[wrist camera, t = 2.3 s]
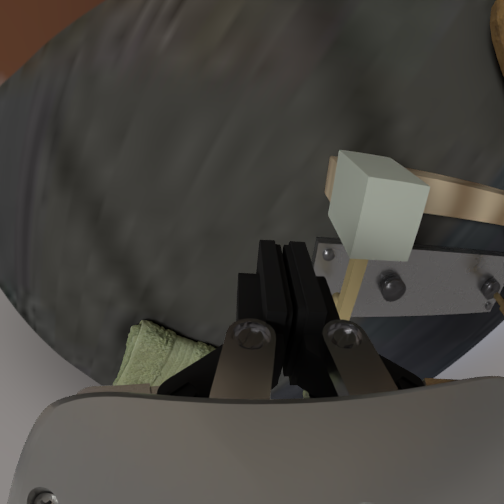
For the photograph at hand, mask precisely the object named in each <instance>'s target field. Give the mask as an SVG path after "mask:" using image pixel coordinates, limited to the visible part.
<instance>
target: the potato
mask: <svg viewBox="0 0 504 504" xmlns="http://www.w3.org/2000/svg"><path fill="white" fill-rule="evenodd" d="M490 28H491V36H492V42H493V46H494V49H495V52H496V56H497V59H498V62H499V65H500V68H501V71H502V74H503V77H504V0H496V1H495V3H494V5H493V6H492V9H491V18H490Z"/></svg>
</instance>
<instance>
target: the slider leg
mask: <svg viewBox="0 0 504 504" xmlns="http://www.w3.org/2000/svg"><path fill="white" fill-rule="evenodd" d="M429 190H430V186H429V185H428V184H426V183H425V182H424V181H422V180H421V179H420V178H418V177H417V176H416V175H414V174H413V173H411V172H410V171H409V170H407V169H406V168H404V167H403V166H402V165H400V164H399V163H397V162H396V161H394V160H393V159H391V158H389V157H383V156H377V155H371V154H365V153H359V152H352V151H345V150H339V154H338V160H337V166H336V173H335V179H334V184H333V190H332V196H331V201H330V207H329V212H328V216H329V218H330V220H331V222H332V224H333V226H334V228H335V230H336V232H337V234H338V236H339V238H340V240H341V242H342V244H343V246H344V248H345V250H346V252H347V254H348V256H349V258H350V259H349V263H348V267H347V271H346V274H345V278H344V282H343V285H342V289H341V292H340V293H339V292H335V293H334V294H333V295H332V297H333V300H334V303H335V306H336V308H337V311H338V314H339V317H340V320H348V321H349V319H350V316H351V313H352V310H353V307H354V304H355V301H356V298H357V295H358V292H359V289H360V286H361V283H362V280H363V277H364V273H365V270H366V267H367V263H368V260H386V261H405V262H408V259H409V256H410V253H411V250H412V247H413V244H414V241H415V238H416V235H417V232H418V228H419V225H420V222H421V219H422V215H423V212H424V208H425V205H426V201H427V198H428V194H429Z"/></svg>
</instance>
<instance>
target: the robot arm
mask: <svg viewBox="0 0 504 504" xmlns="http://www.w3.org/2000/svg"><path fill="white" fill-rule="evenodd" d="M282 366H283V374H284V376H289V381H290V385H298V386H299V387H301V388H302V389H304V390H303V397H304V399H270V394H271V390H272V389H273V388H274V387H275V386H276V385H277V384H278V379H279V376H280V374H281V369H282ZM7 504H504V377H500V376H485V377H475V378H469V379H462V380H451V379H433V378H424V380H423V381H422V380H421V379H420V378H419V377H417V376H416V375H415V374H413V373H411V372H409V371H407V370H406V369H404V368H402V367H400V366H399V365H397V364H395V363H393V362H392V361H390V360H388V359H386V358H385V357H383V356H381V355H379V354H378V353H377V351H376V349H375V348H374V346H373V344H372V343H371V341H370V339H369V337H368V336H367V334H366V332H365V331H364V330H363V329H362V327H360V326H359V325H357V324H356V323H354V322H351V321H348V320H340V317H339V314H338V311H337V308H336V306H335V303H334V300H333V297H332V294H331V291H330V289H329V286H328V283H327V280H326V278H325V277H324V276H316V274H315V271H314V268H313V265H312V262H311V259H310V256H309V253H308V250H307V247H306V244H305V242H293V241H290V242H289V245H284V247H283V253H282V251H281V246H280V245H277V244H275V241H274V240H260V242H259V251H258V262H257V272H256V274H248V273H238V289H237V319H236V322H234V323H232V324H231V325H230V326H229V328H228V330H227V332H226V335H225V339H224V343H223V344H222V345H221V346H219V347H218V348H216V349H215V350H213V351H212V352H210V353H208V354H207V355H205V356H204V357H202V358H201V359H199V360H197V361H196V362H194V363H193V364H191V365H189V366H188V367H186V368H185V369H183V370H181V371H180V372H178V373H176V374H175V375H173V376H172V377H170V378H168V379H167V380H166V381H164V382H163V383H162V384H161V385H160V386H150V383H145V384H131V385H112V386H91V387H86V388H84V389H82V390H80V391H79V392H78V393H77V394H76V395H72V396H69V397H65V398H62V399H60V400H57V401H55V402H53V403H52V404H50V405H49V406H48V407H47V408H45V409H44V411H43V412H42V413H41V414H40V416H39V417H38V419H37V420H36V422H35V424H34V425H33V427H32V429H31V431H30V433H29V435H28V438H27V440H26V442H25V445H24V447H23V450H22V453H21V455H20V459H19V461H18V464H17V467H16V471H15V474H14V478H13V481H12V485H11V489H10V493H9V498H8V502H7Z"/></svg>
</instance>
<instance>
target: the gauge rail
mask: <svg viewBox="0 0 504 504" xmlns="http://www.w3.org/2000/svg"><path fill="white" fill-rule="evenodd" d="M337 160H338V157H334V156H330V160H329V167H328V173H327V180H326V186H325V192H324V193H325V194H326V196H327V198H328V199H329V201H331V196H332V190H333V184H334V179H335V173H336V166H337ZM404 168H405V167H404ZM406 169H407V170H409V171H410V172H411V173H413V174H414V175H416V176H417V177H418V178H420V179H421V180H422V181H424V182H425V183H426V184H428V185H429V186H430V190H429V194H428V198H427V201H426V205H425V208H424V212H423V213H428V214H435V215H442V216H449V217H455V218H462V219H468V220H474V221H480V222H486V223H492V224H498V225H503V226H504V190H500V189H497V188H493V187H489V186H486V185H482V184H478V183H474V182H470V181H466V180H462V179H458V178H453V177H449V176H444V175H440V174H435V173H430V172H425V171H420V170H415V169H410V168H406ZM493 297H494V299H495V300H496V301H497V303H498V304H499V305H500V308H499V309H500V311H501V312H502V313H503V315H504V299H503V298H502V297H501V295H500V294H499V293H498V292H496V293H495V294H494V296H493Z"/></svg>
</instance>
